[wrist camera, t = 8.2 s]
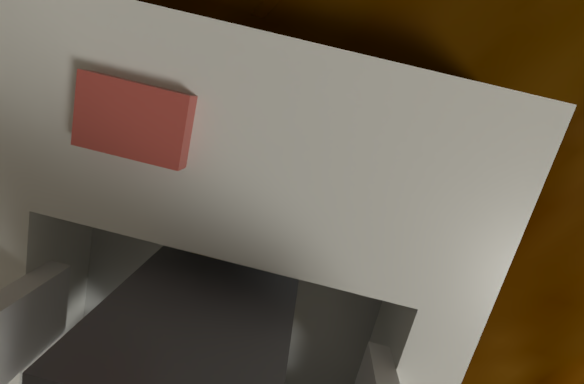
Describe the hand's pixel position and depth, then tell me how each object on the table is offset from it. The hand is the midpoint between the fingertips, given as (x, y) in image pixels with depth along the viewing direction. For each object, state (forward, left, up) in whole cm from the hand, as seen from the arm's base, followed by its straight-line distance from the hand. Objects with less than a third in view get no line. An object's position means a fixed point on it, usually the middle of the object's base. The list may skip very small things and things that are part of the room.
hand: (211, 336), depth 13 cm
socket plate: (-2, 0, -3) cm, 4 cm away
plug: (0, 0, -2) cm, 2 cm away
